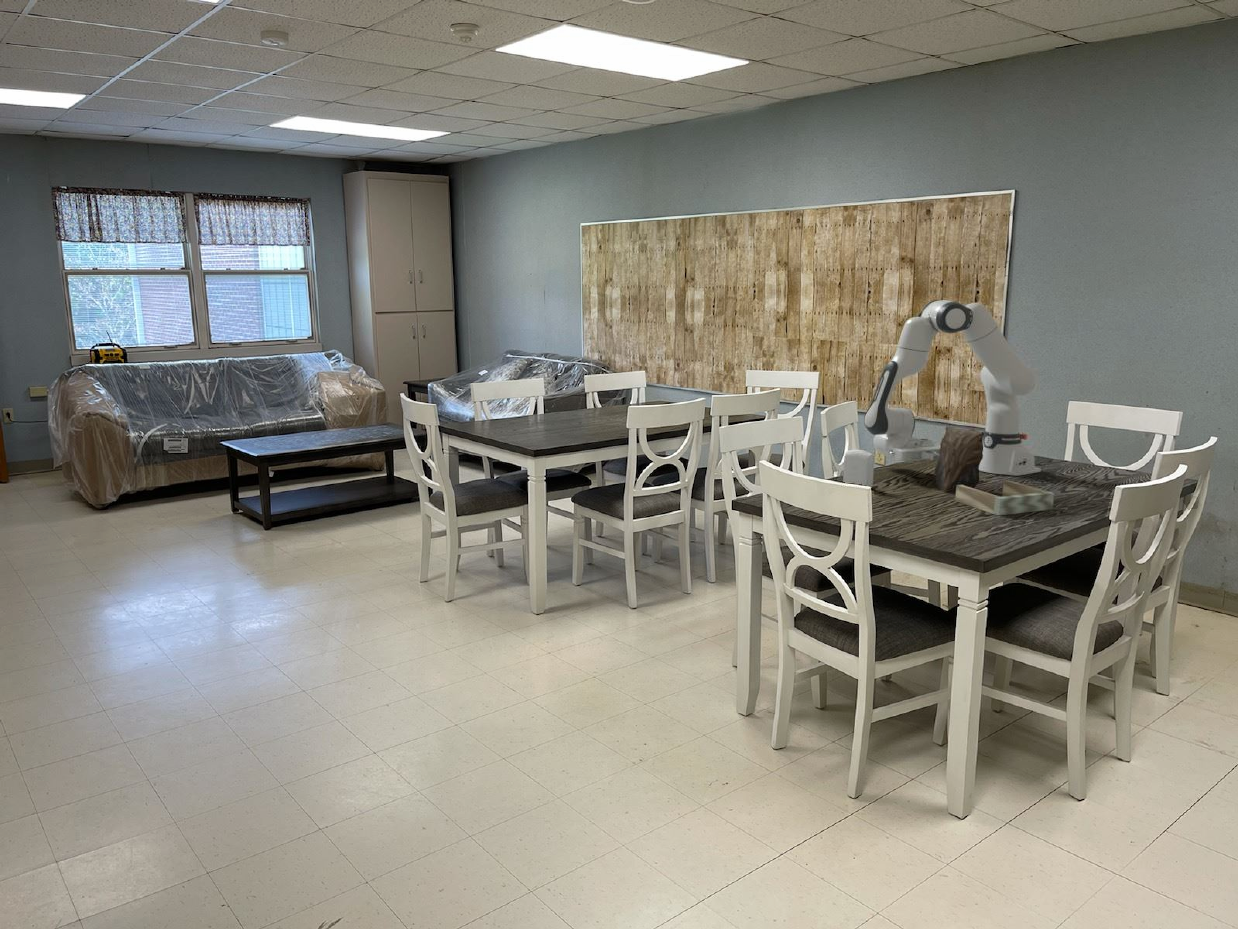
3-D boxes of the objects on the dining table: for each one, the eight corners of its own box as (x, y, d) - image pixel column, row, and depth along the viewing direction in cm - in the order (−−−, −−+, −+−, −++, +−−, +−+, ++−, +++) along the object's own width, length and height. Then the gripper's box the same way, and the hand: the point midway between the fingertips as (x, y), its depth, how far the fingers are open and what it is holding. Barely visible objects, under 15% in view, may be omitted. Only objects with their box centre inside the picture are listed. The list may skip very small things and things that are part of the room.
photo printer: (840, 484, 299) (843, 448, 296) (848, 483, 301) (850, 446, 299) (866, 490, 291) (869, 453, 288) (874, 488, 294) (877, 451, 291)
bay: (1006, 495, 287) (1008, 480, 286) (1052, 509, 270) (1054, 493, 269) (955, 500, 279) (956, 485, 278) (998, 515, 263) (1000, 498, 262)
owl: (932, 483, 302) (937, 425, 298) (970, 484, 301) (976, 426, 297) (943, 492, 290) (948, 431, 285) (983, 493, 289) (989, 432, 285)
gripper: (885, 442, 309) (912, 449, 296) (933, 439, 316) (961, 446, 304) (884, 460, 310) (910, 468, 298) (931, 456, 318) (959, 464, 305)
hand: (936, 457), depth 301 cm, fingers closed
